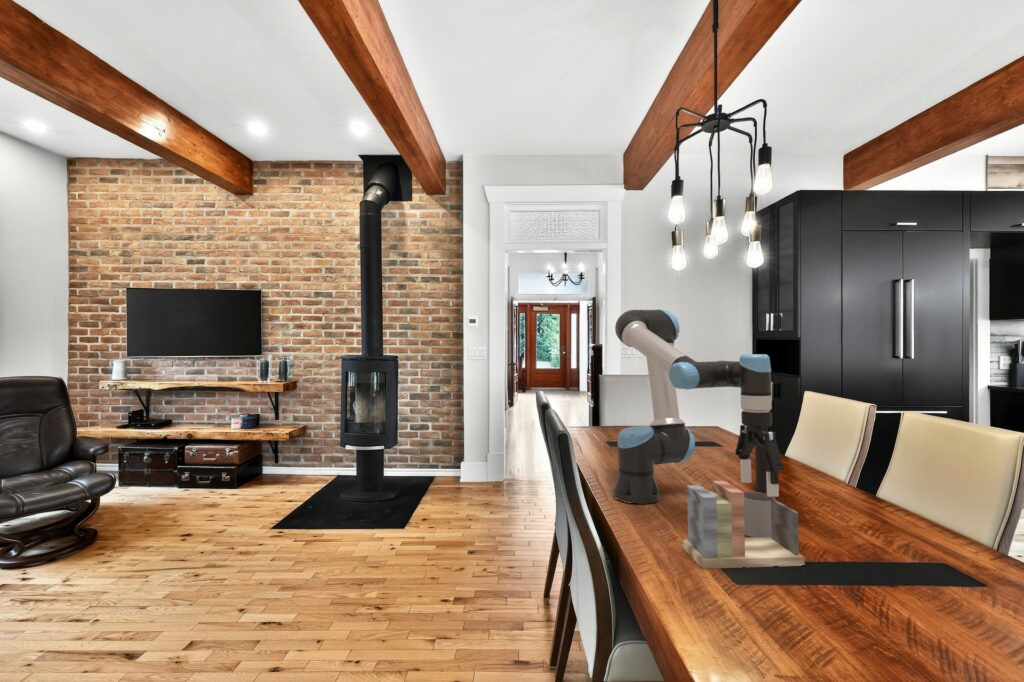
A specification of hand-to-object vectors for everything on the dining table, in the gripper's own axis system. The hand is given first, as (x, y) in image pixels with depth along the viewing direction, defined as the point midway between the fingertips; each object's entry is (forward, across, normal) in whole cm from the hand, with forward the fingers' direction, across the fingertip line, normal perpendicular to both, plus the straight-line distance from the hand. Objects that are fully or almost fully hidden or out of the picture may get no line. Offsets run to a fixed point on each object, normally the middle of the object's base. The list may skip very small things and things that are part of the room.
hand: (758, 489), depth 134 cm
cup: (+12, 0, 0) cm, 12 cm away
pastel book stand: (+12, -14, +12) cm, 22 cm away
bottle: (+12, +38, -23) cm, 45 cm away
